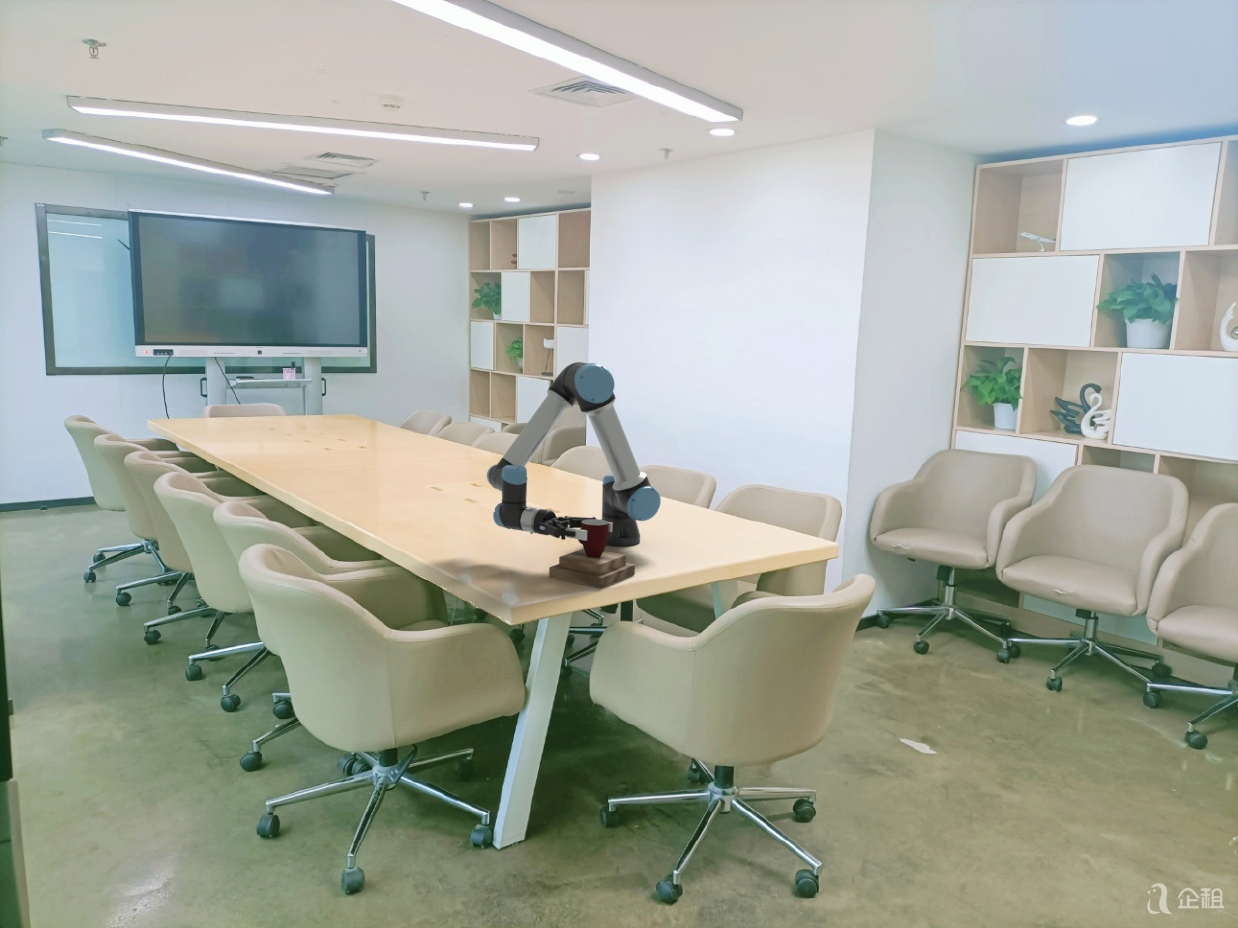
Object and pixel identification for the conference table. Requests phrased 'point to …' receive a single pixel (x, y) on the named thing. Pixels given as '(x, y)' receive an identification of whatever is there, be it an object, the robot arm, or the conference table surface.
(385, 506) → the conference table surface
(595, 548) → the mug
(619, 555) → the stand
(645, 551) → the conference table surface
